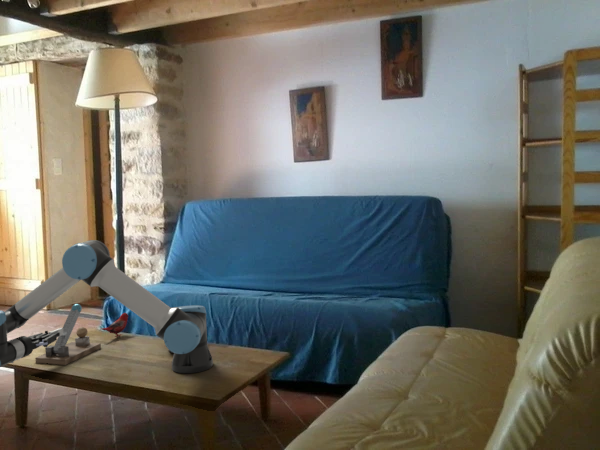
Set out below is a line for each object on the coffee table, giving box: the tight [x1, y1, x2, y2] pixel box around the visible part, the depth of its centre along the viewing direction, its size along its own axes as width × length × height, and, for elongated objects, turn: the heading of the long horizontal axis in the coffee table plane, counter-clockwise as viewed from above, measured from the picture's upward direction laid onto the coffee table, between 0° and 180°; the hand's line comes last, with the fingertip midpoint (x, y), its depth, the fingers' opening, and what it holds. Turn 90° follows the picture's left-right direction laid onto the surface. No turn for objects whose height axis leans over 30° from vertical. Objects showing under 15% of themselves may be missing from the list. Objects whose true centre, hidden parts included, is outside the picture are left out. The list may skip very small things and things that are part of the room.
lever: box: [52, 303, 83, 355], centre depth 222 cm, size 4×4×22 cm
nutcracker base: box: [35, 326, 102, 366], centre depth 223 cm, size 22×14×9 cm, turn 165°
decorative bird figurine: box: [99, 312, 130, 338], centre depth 247 cm, size 3×18×10 cm, turn 153°
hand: (61, 331), depth 219 cm, fingers closed
